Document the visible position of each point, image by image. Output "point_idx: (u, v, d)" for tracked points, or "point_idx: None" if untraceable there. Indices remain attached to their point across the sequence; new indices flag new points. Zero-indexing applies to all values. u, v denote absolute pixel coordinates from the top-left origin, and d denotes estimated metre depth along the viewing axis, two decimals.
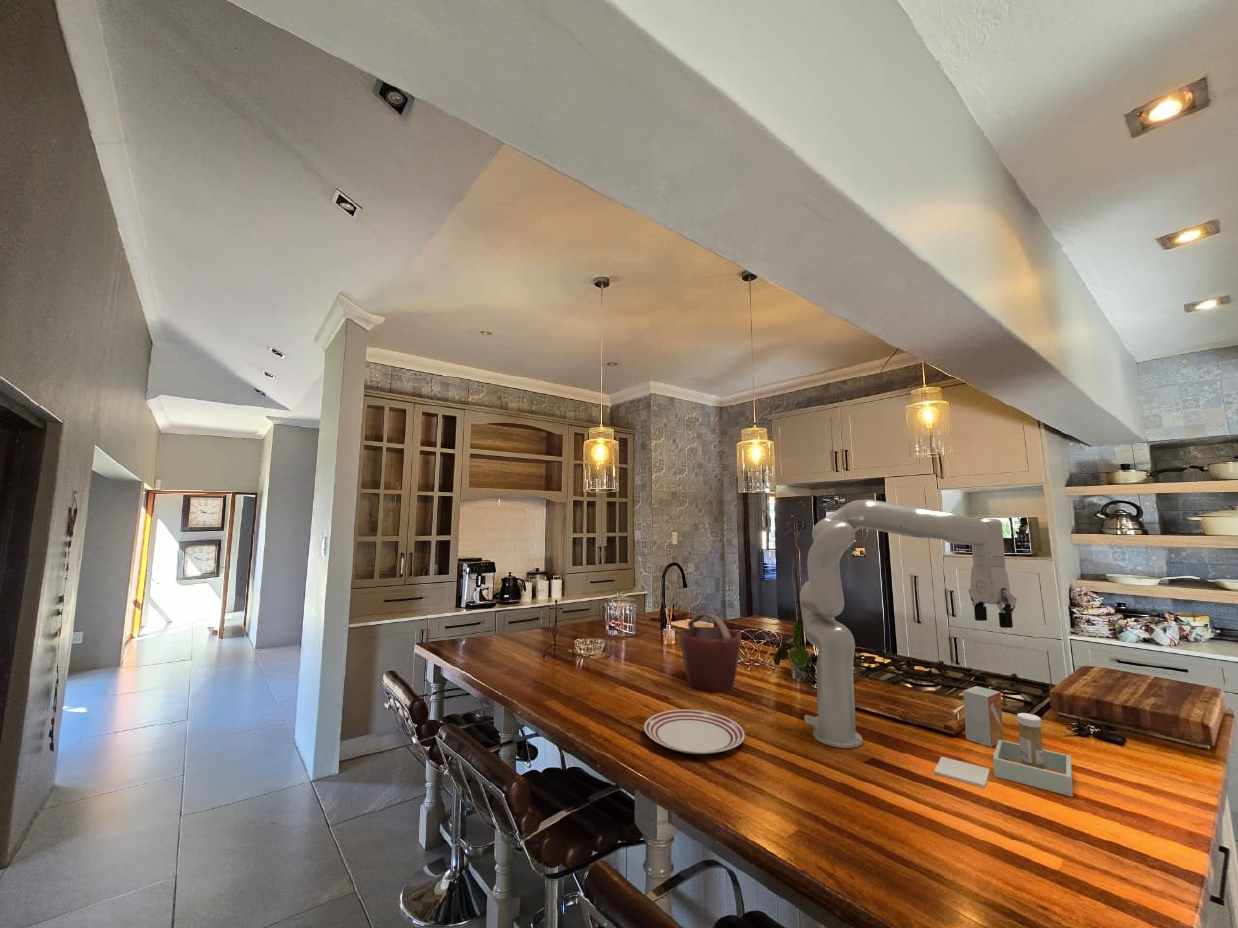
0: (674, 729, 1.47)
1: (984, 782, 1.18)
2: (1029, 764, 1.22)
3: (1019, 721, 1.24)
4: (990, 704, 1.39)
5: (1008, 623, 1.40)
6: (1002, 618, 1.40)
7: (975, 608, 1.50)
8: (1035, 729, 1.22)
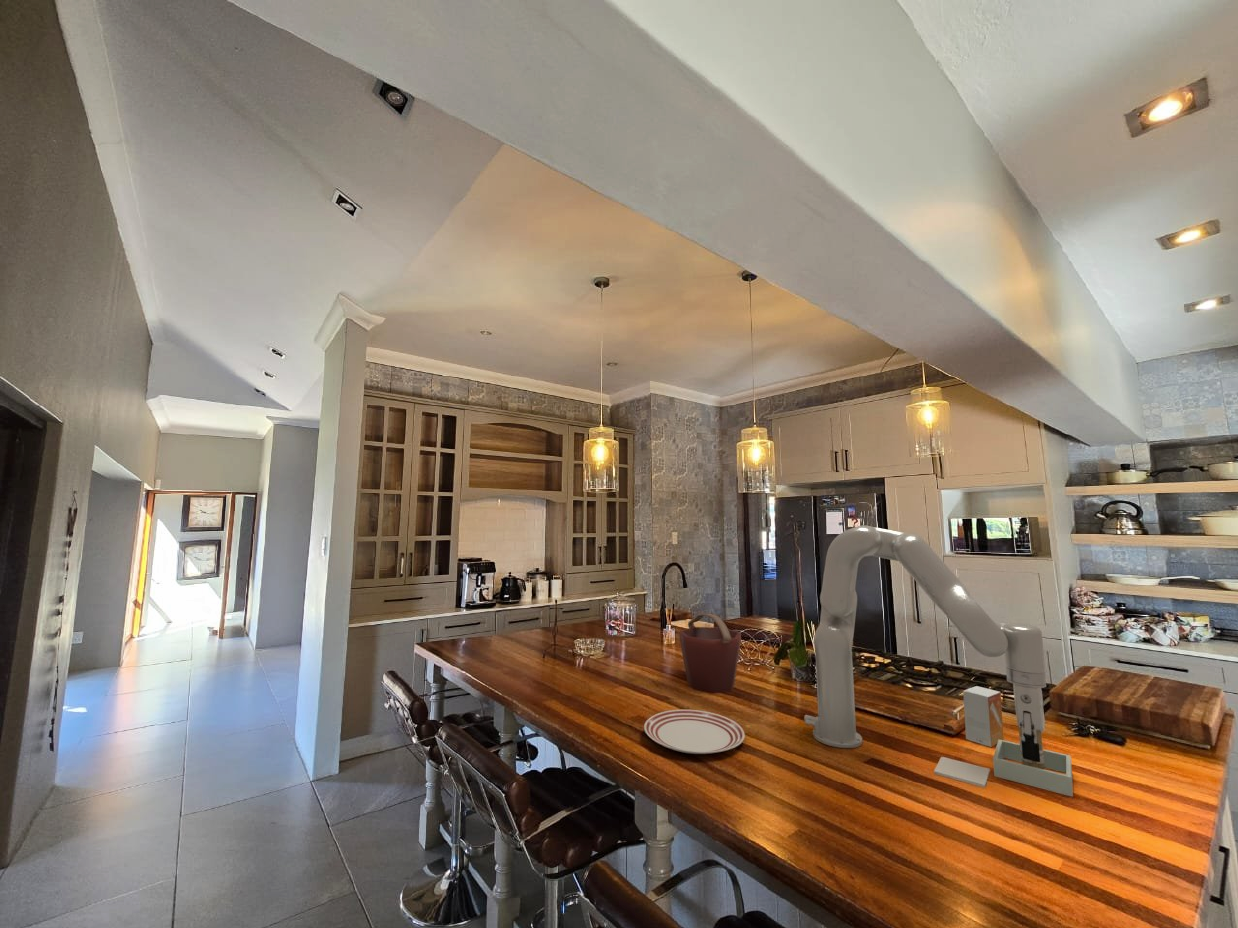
0: (674, 729, 1.47)
1: (984, 782, 1.18)
2: (1030, 764, 1.22)
3: None
4: (990, 704, 1.39)
5: None
6: None
7: None
8: None
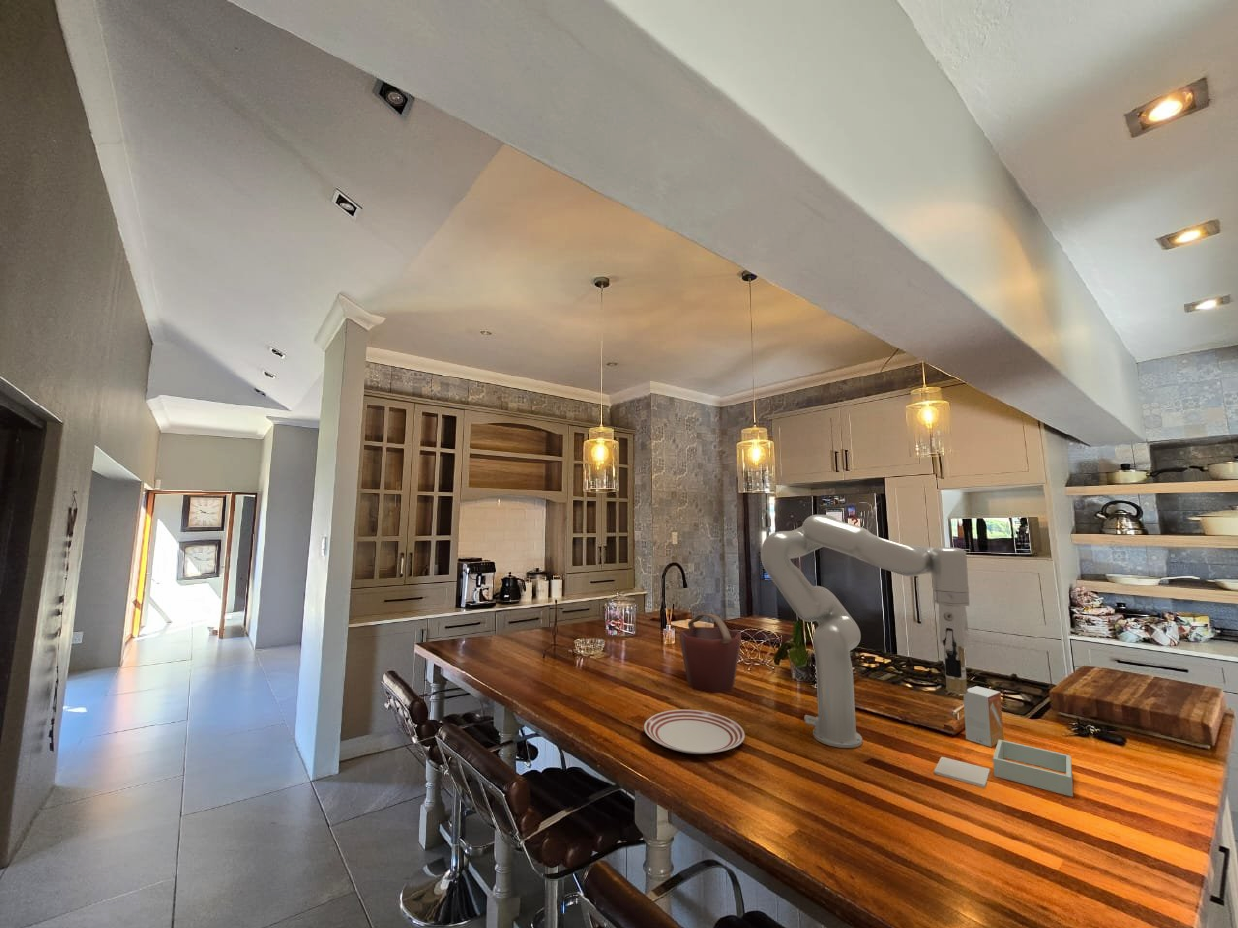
0: (674, 729, 1.47)
1: (984, 782, 1.18)
2: (952, 681, 1.25)
3: (944, 640, 1.27)
4: (990, 704, 1.39)
5: None
6: None
7: None
8: None
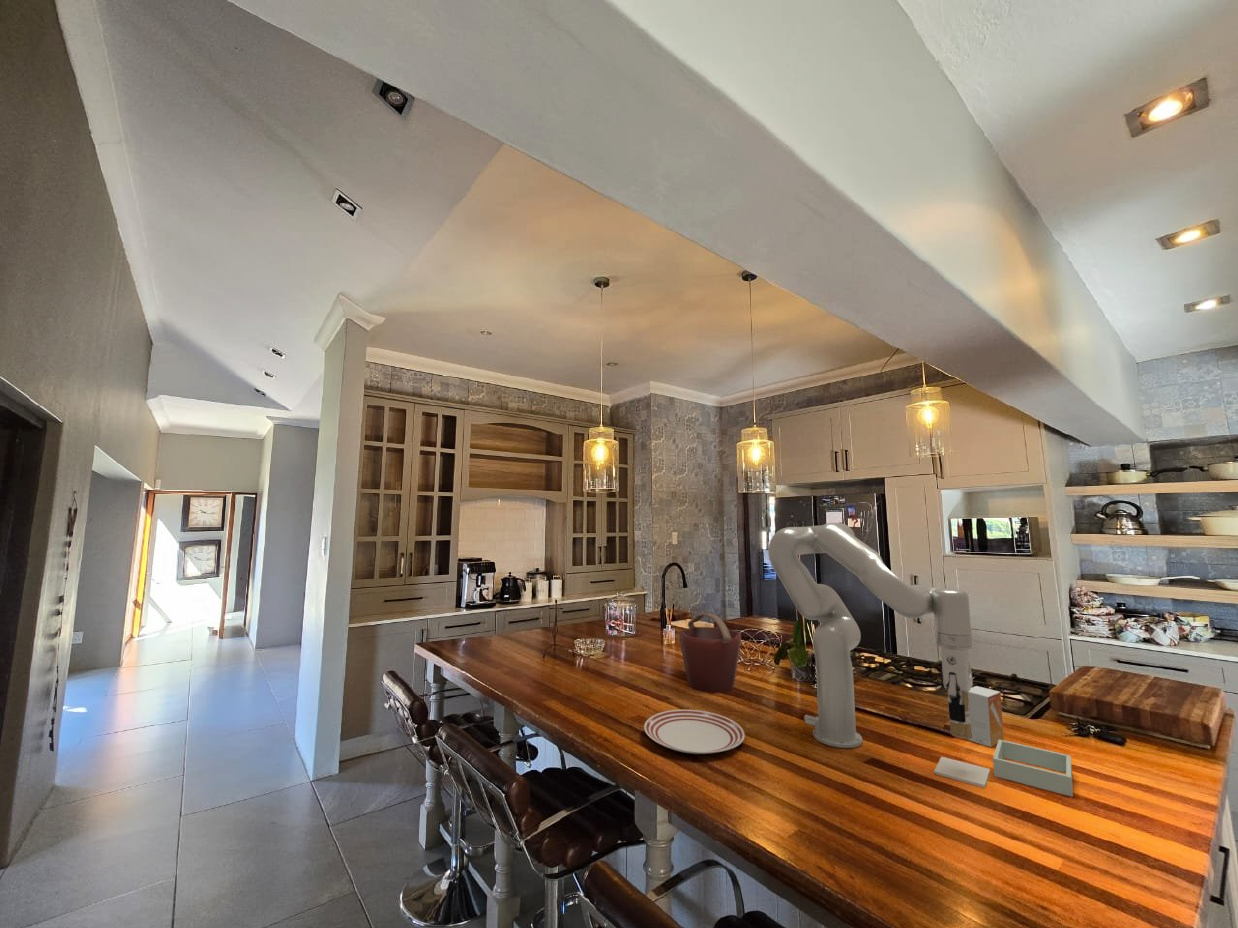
0: (674, 729, 1.47)
1: (984, 782, 1.18)
2: (956, 725, 1.23)
3: None
4: (990, 704, 1.39)
5: None
6: None
7: None
8: None
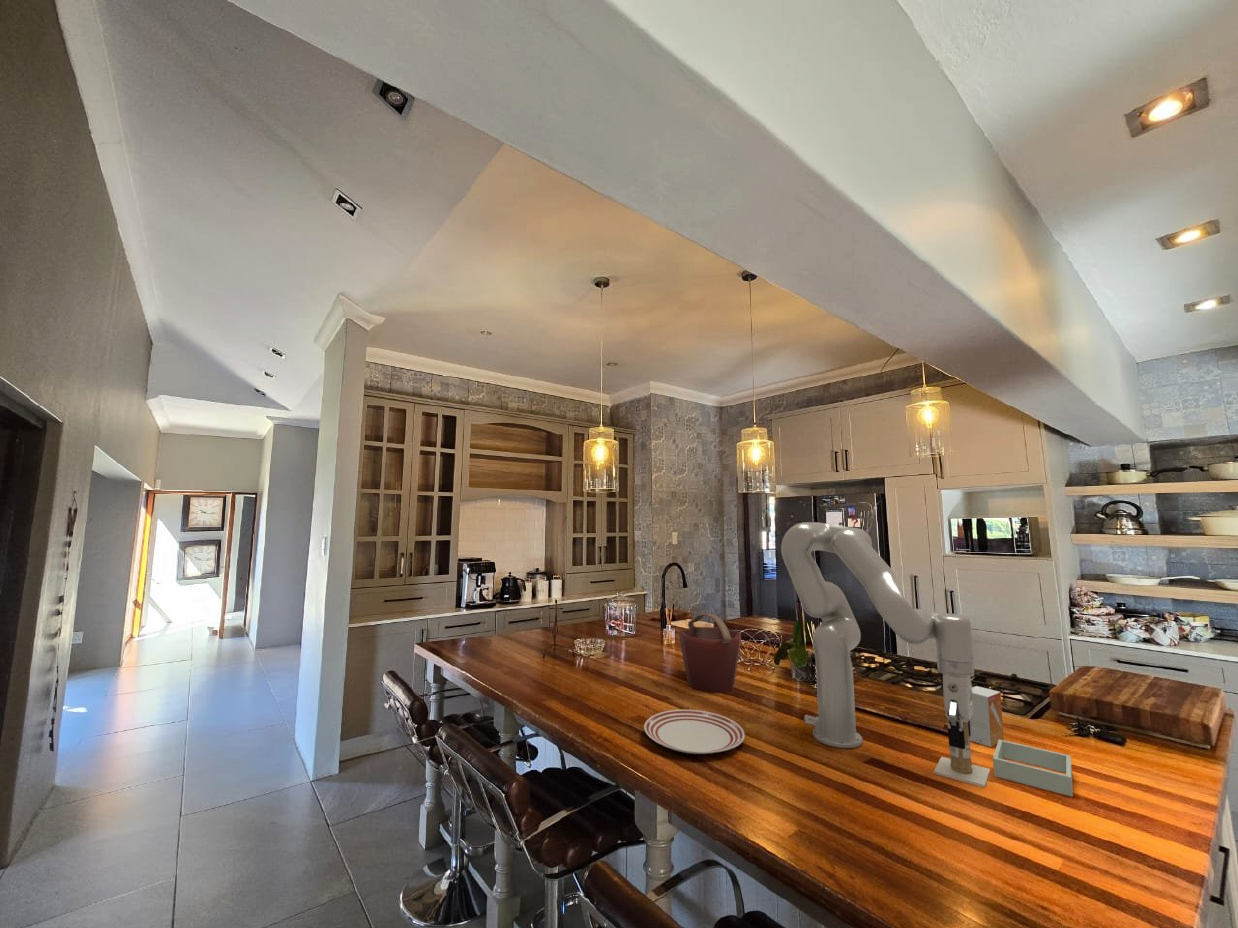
0: (674, 729, 1.47)
1: (984, 782, 1.18)
2: (957, 759, 1.23)
3: (947, 716, 1.26)
4: (990, 704, 1.39)
5: None
6: None
7: None
8: None
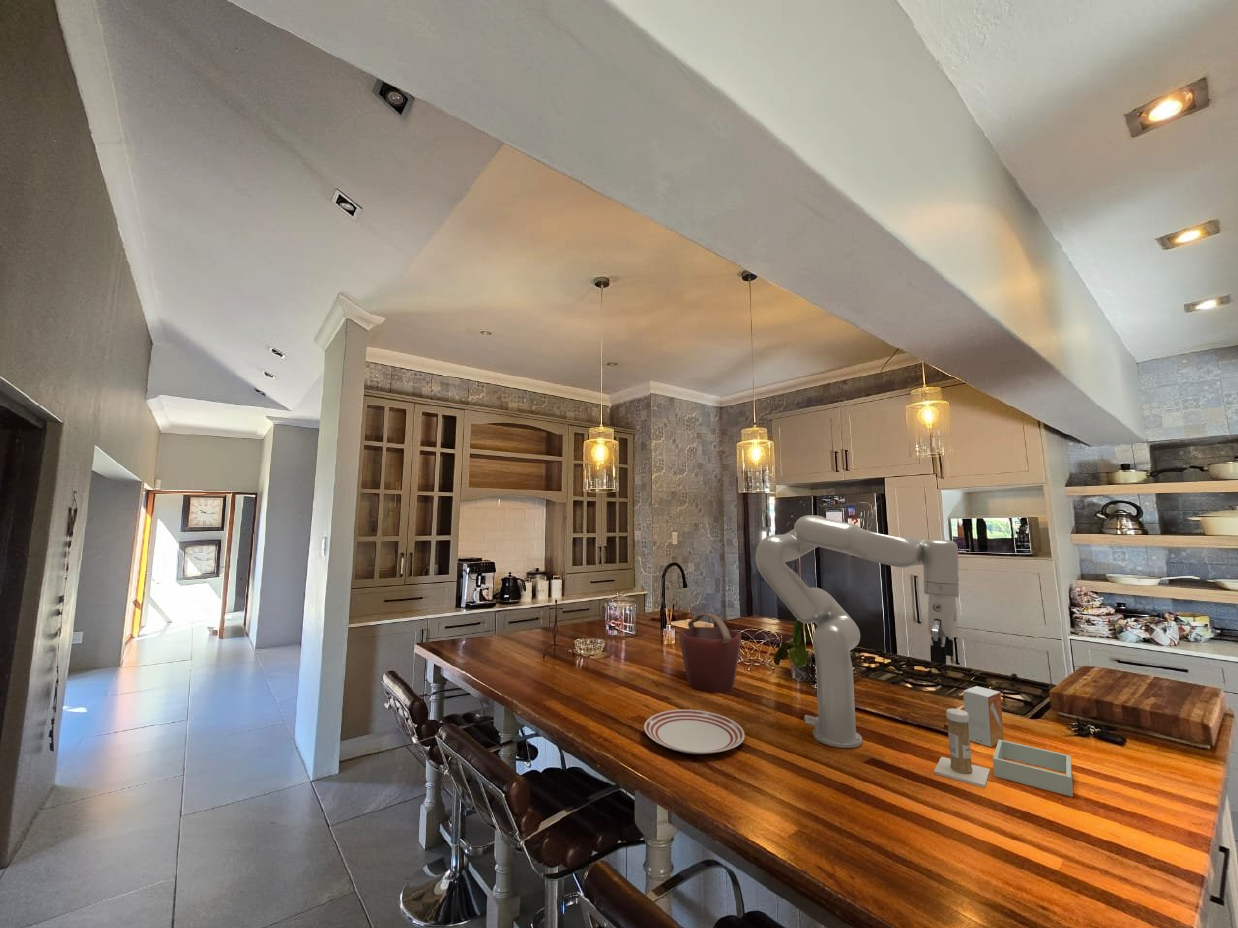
0: (674, 729, 1.47)
1: (984, 782, 1.18)
2: (957, 759, 1.23)
3: (948, 716, 1.25)
4: (990, 704, 1.39)
5: None
6: None
7: None
8: (962, 724, 1.23)
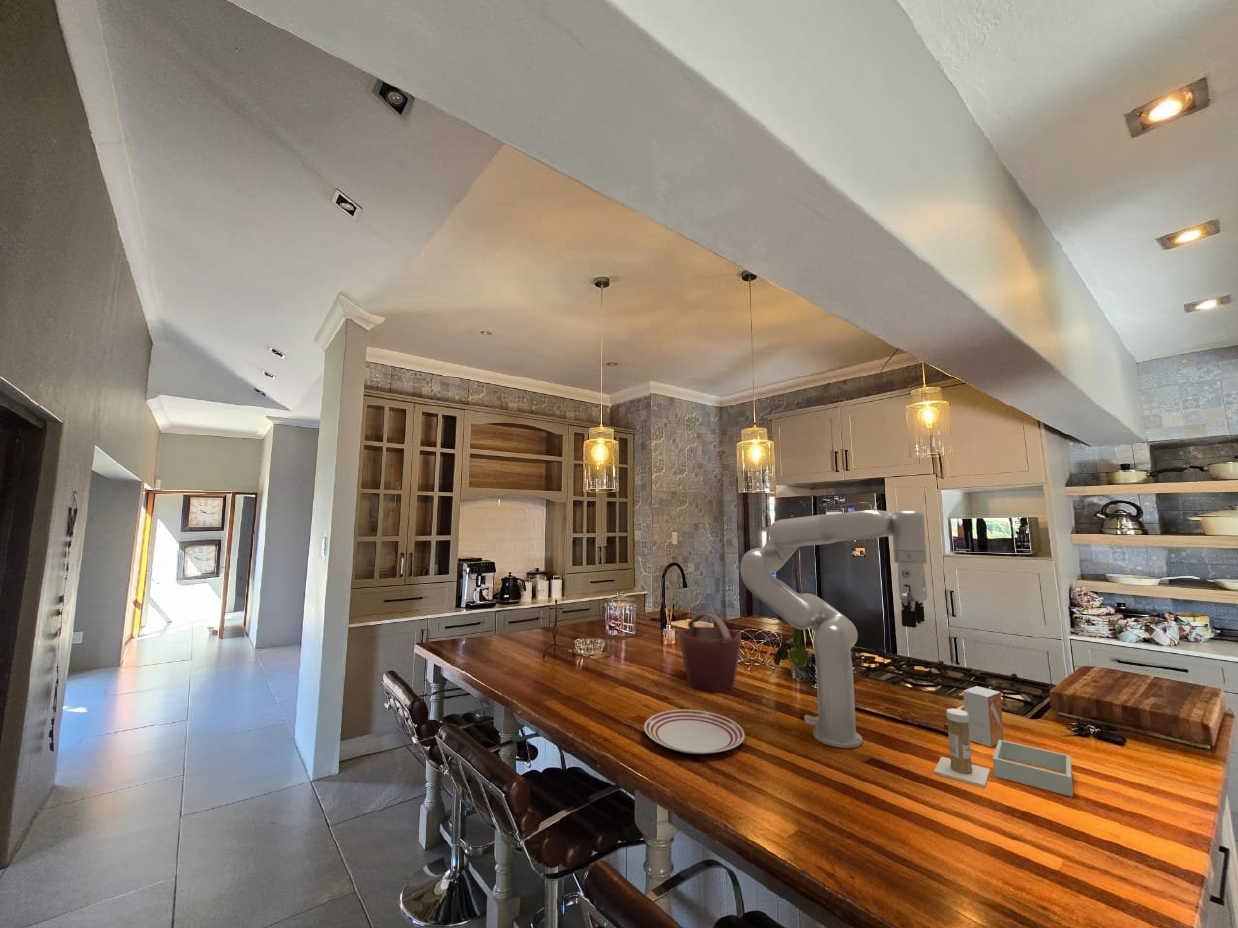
0: (674, 729, 1.47)
1: (984, 782, 1.18)
2: (957, 759, 1.23)
3: (948, 716, 1.25)
4: (990, 704, 1.39)
5: None
6: None
7: None
8: (962, 724, 1.23)
